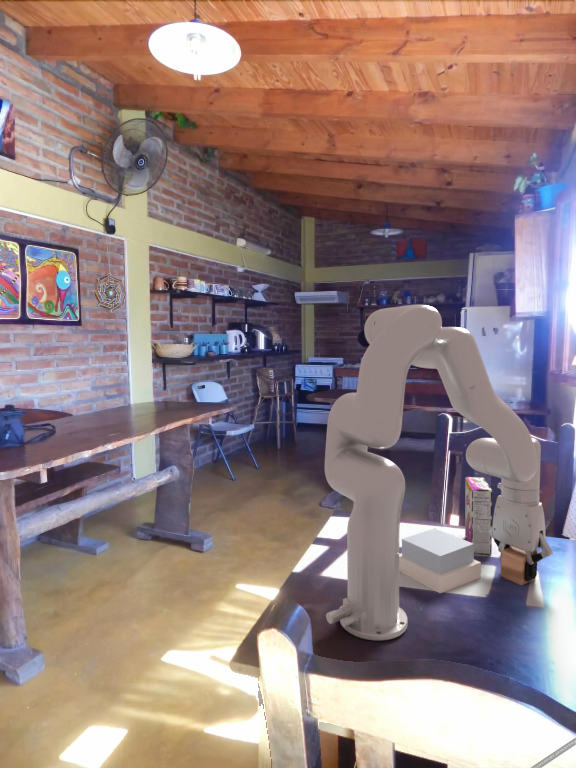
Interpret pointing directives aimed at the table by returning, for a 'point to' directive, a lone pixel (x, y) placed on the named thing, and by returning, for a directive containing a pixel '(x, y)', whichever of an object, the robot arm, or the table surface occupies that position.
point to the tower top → (437, 550)
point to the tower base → (440, 580)
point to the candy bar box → (478, 514)
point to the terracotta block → (514, 565)
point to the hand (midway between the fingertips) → (518, 573)
